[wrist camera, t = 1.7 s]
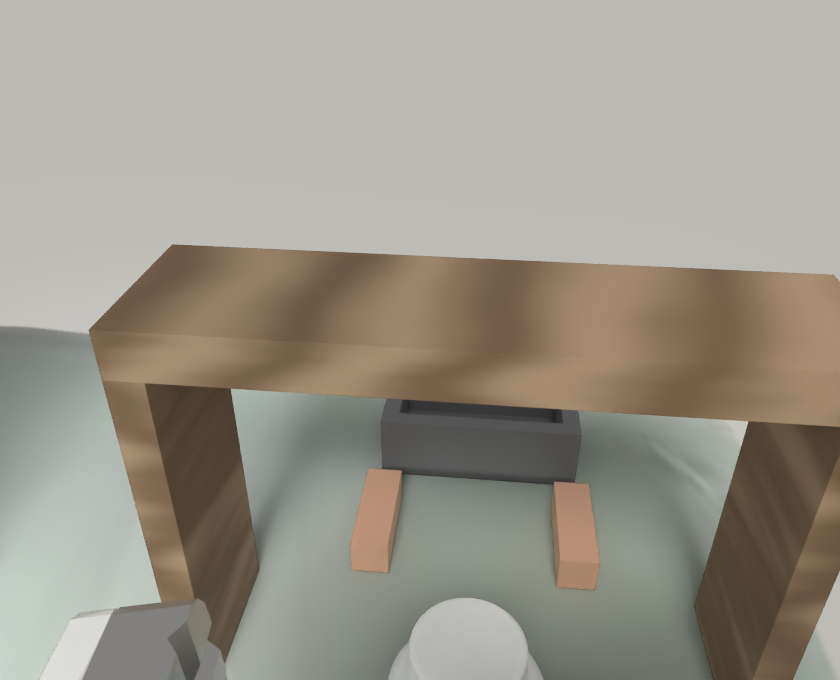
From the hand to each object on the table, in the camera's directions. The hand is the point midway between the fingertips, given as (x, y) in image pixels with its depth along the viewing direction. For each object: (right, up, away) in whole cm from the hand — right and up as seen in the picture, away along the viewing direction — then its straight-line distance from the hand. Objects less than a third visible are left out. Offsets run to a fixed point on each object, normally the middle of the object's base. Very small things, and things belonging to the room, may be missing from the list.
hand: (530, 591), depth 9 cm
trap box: (+3, -4, +40) cm, 40 cm away
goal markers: (+2, -8, +32) cm, 33 cm away
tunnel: (+1, -12, +26) cm, 29 cm away
